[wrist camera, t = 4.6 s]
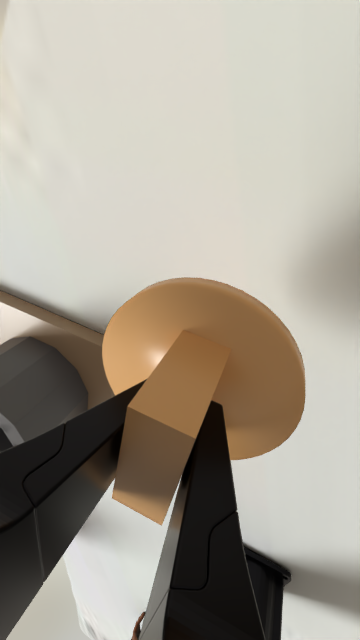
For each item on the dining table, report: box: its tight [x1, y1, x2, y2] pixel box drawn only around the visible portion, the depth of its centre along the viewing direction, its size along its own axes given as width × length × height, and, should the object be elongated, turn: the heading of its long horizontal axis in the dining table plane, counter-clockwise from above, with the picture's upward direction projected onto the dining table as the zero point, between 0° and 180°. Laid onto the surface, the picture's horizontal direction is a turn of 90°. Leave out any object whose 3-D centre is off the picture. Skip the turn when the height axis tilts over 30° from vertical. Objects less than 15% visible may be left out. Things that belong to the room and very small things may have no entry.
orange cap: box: [102, 278, 305, 525], centre depth 10 cm, size 7×7×6 cm
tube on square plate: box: [0, 291, 115, 452], centre depth 23 cm, size 13×13×7 cm
